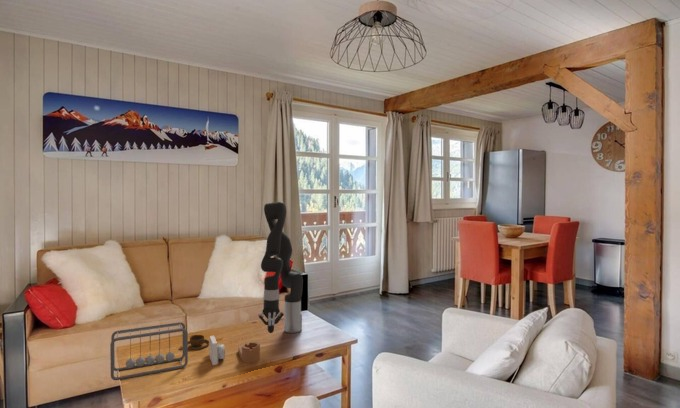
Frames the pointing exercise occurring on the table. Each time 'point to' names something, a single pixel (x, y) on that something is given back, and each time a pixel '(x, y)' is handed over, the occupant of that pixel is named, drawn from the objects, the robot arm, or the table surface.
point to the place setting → (197, 342)
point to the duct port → (216, 351)
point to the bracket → (249, 352)
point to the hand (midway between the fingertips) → (270, 332)
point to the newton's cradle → (150, 359)
